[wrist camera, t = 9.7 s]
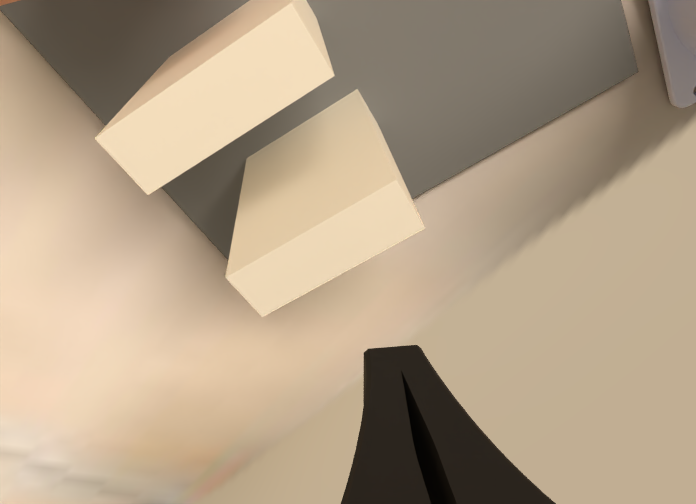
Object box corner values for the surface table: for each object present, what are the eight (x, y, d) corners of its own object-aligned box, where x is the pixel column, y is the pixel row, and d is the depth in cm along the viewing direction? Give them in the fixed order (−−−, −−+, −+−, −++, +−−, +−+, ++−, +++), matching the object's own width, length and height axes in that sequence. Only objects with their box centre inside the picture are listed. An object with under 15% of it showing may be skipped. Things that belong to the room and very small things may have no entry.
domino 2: (357, 88, 19) (396, 179, 12) (377, 124, 19) (425, 228, 13) (246, 158, 20) (225, 277, 13) (270, 189, 20) (262, 317, 14)
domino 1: (290, -28, 16) (291, 2, 10) (316, 17, 17) (335, 75, 10) (168, 57, 17) (94, 138, 11) (199, 96, 18) (147, 195, 12)
